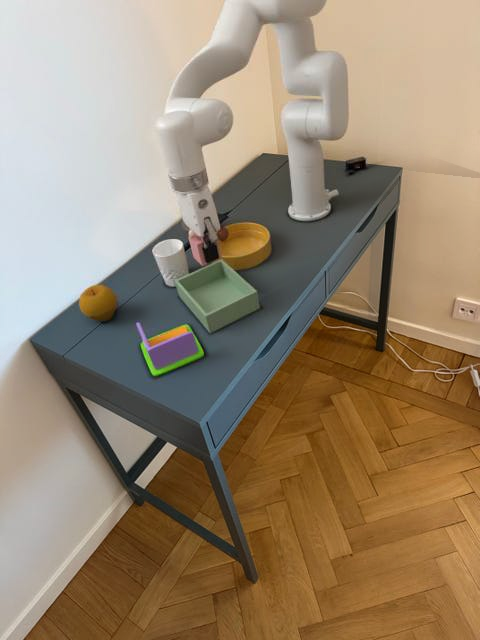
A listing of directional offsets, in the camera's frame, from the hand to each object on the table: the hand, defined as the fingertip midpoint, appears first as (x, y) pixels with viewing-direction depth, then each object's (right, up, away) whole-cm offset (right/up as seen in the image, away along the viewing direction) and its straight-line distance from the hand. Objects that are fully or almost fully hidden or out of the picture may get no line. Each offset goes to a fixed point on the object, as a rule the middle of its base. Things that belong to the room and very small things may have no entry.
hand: (207, 254), depth 103 cm
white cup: (-9, -4, +19) cm, 21 cm away
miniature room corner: (-8, -22, -2) cm, 23 cm away
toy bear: (0, -1, 0) cm, 1 cm away
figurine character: (-2, +10, +32) cm, 34 cm away
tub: (+2, -10, +8) cm, 14 cm away
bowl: (+8, +4, +23) cm, 25 cm away
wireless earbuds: (+45, +35, +50) cm, 76 cm away
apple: (-26, -14, +11) cm, 32 cm away
